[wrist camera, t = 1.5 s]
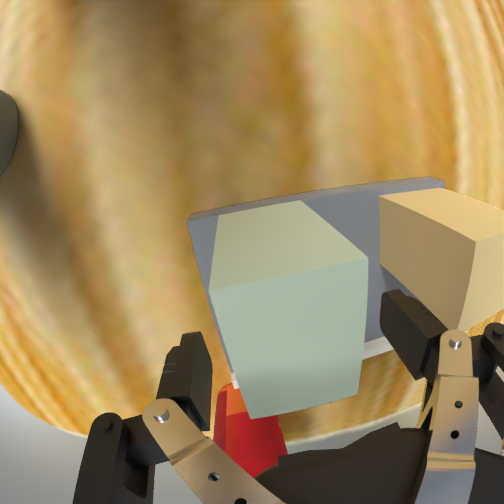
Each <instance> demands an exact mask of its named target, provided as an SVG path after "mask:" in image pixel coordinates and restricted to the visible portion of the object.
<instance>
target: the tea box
mask: <svg viewBox="0 0 504 504" xmlns="http://www.w3.org/2000/svg"><path fill="white" fill-rule="evenodd" d="M209 294H210V297H211V300H212V304H213V307H214V311H215V314H216V317H217V321H218V324H219V327H220V330H221V334H222V337H223V340H224V343H225V346H226V349H227V352H228V356H229V359H230V362H231V365H232V368H233V371H234V374H235V377H236V380H237V383H238V385H239V388H240V391H241V394H242V397H243V400H244V403H245V405H246V408H247V411H248V414H249V416H250V419H255V418H262V417H268V416H273V415H279V414H284V413H289V412H293V411H298V410H302V409H307V408H311V407H315V406H319V405H323V404H327V403H330V402H334V401H337V400H341V399H344V398H347V397H351V396H354V395H357V393H358V387H359V380H360V373H361V366H362V358H363V349H364V339H365V327H366V313H367V295H368V257H367V256H366V255H365V254H364V253H363V252H361V251H360V250H359V249H358V248H357V247H356V246H355V245H353V244H352V243H351V242H350V241H349V240H348V239H347V238H345V237H344V236H343V235H342V234H341V233H340V232H338V231H337V230H336V229H335V228H334V227H332V226H331V225H330V224H329V223H328V222H326V221H325V220H324V219H323V218H322V217H320V216H319V215H318V214H317V213H315V212H314V211H313V210H312V209H311V208H309V207H308V206H307V205H306V204H304V203H303V202H302V201H301V200H298V201H292V202H287V203H281V204H275V205H270V206H264V207H259V208H253V209H248V210H243V211H238V212H233V213H228V214H223V215H219V217H218V224H217V230H216V237H215V245H214V252H213V259H212V267H211V275H210V283H209Z"/></svg>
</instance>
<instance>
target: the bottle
mask: <svg viewBox="0 0 504 504" xmlns="http://www.w3.org/2000/svg"><path fill="white" fill-rule="evenodd" d="M18 129H19V120H18V111H17V107H16V103H15V102H14V100H13V99H12V97H11V96H10V95H8V94H6V93H5V92H3V91H1V90H0V174H1V173H2V172H3V170H4V169H5V168H6V167H7V165H8V163H9V161H10V159H11V157H12V155H13V152H14V149H15V145H16V142H17V136H18Z"/></svg>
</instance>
